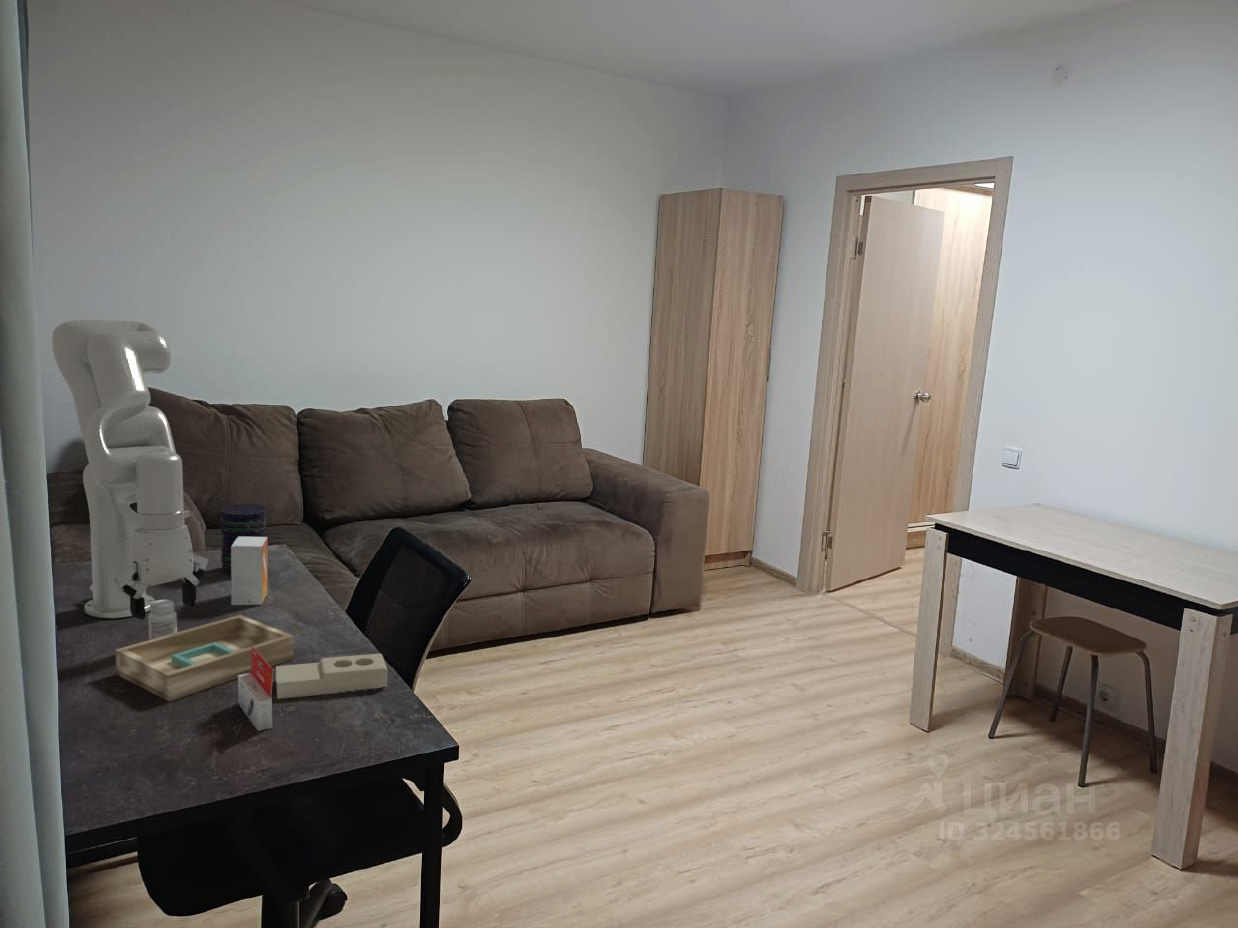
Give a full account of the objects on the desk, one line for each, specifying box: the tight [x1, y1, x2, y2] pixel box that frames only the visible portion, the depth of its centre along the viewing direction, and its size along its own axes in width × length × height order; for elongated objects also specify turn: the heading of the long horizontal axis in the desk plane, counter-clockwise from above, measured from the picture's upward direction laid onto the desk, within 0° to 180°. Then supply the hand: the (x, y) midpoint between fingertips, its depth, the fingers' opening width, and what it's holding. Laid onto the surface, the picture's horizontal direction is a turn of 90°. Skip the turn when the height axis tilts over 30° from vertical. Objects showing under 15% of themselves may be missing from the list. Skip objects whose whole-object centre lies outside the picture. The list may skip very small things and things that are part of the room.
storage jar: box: [220, 503, 267, 577], centre depth 216 cm, size 10×10×15 cm
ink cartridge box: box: [237, 646, 274, 732], centre depth 146 cm, size 2×11×10 cm, turn 37°
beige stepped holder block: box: [275, 653, 388, 700], centre depth 160 cm, size 7×4×18 cm
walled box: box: [115, 614, 295, 702], centre depth 163 cm, size 16×24×4 cm, turn 147°
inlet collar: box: [171, 642, 235, 667], centre depth 163 cm, size 8×8×1 cm
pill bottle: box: [147, 599, 178, 640], centre depth 170 cm, size 5×5×8 cm
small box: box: [230, 536, 269, 606], centre depth 197 cm, size 8×6×13 cm
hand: (164, 611), depth 169 cm, fingers open, 9 cm apart
